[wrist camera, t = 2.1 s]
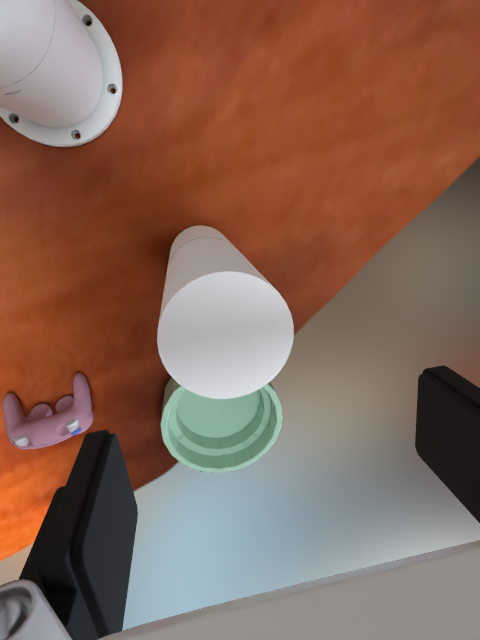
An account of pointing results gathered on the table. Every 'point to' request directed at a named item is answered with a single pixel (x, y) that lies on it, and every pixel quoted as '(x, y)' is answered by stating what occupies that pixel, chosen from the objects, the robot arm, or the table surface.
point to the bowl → (219, 427)
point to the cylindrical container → (220, 319)
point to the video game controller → (49, 418)
